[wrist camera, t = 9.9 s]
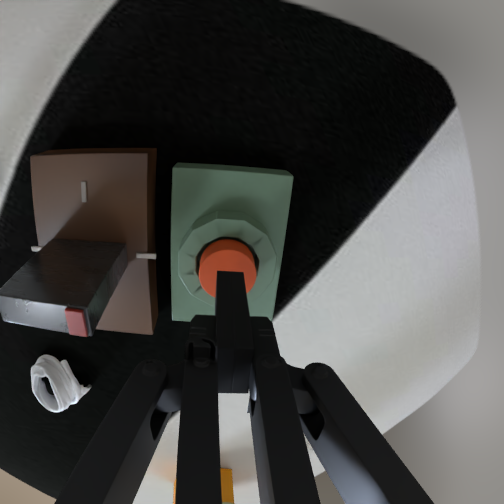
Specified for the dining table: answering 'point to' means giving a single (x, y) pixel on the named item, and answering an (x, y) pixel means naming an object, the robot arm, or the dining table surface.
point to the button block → (226, 229)
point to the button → (226, 263)
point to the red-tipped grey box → (65, 286)
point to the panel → (104, 219)
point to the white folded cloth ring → (56, 384)
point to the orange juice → (225, 487)
